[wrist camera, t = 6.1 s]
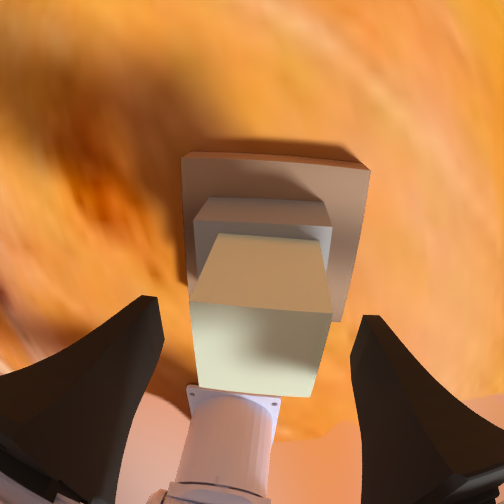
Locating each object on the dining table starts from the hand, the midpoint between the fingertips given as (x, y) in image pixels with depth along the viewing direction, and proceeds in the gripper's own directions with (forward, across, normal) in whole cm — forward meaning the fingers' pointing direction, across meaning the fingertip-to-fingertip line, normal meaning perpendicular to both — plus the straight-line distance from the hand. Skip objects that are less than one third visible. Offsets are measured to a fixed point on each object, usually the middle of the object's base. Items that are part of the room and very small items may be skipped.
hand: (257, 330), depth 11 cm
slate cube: (+6, 0, 0) cm, 6 cm away
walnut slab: (+9, 0, 0) cm, 9 cm away
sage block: (+3, 0, 0) cm, 3 cm away
